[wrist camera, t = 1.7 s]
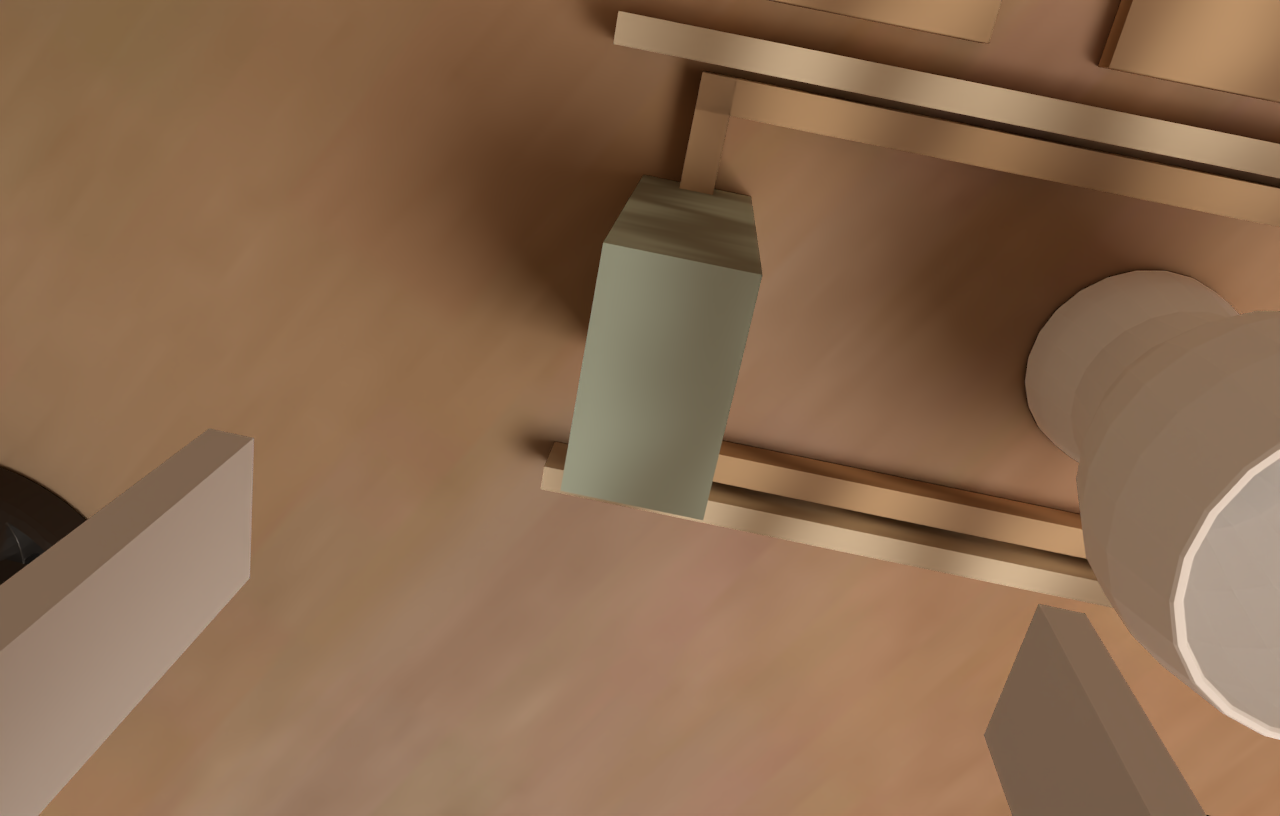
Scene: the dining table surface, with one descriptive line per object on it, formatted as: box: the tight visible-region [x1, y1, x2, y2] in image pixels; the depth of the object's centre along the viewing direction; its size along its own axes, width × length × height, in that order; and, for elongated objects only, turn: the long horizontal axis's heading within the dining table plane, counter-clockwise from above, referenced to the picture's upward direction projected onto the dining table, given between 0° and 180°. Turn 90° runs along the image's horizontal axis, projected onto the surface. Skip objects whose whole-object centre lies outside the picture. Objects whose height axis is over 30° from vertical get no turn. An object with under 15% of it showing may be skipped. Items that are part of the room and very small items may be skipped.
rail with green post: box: [560, 71, 1280, 559], centre depth 30 cm, size 27×15×12 cm, turn 80°
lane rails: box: [541, 0, 1280, 608], centre depth 32 cm, size 31×28×2 cm
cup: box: [1025, 271, 1280, 740], centre depth 28 cm, size 11×11×15 cm
